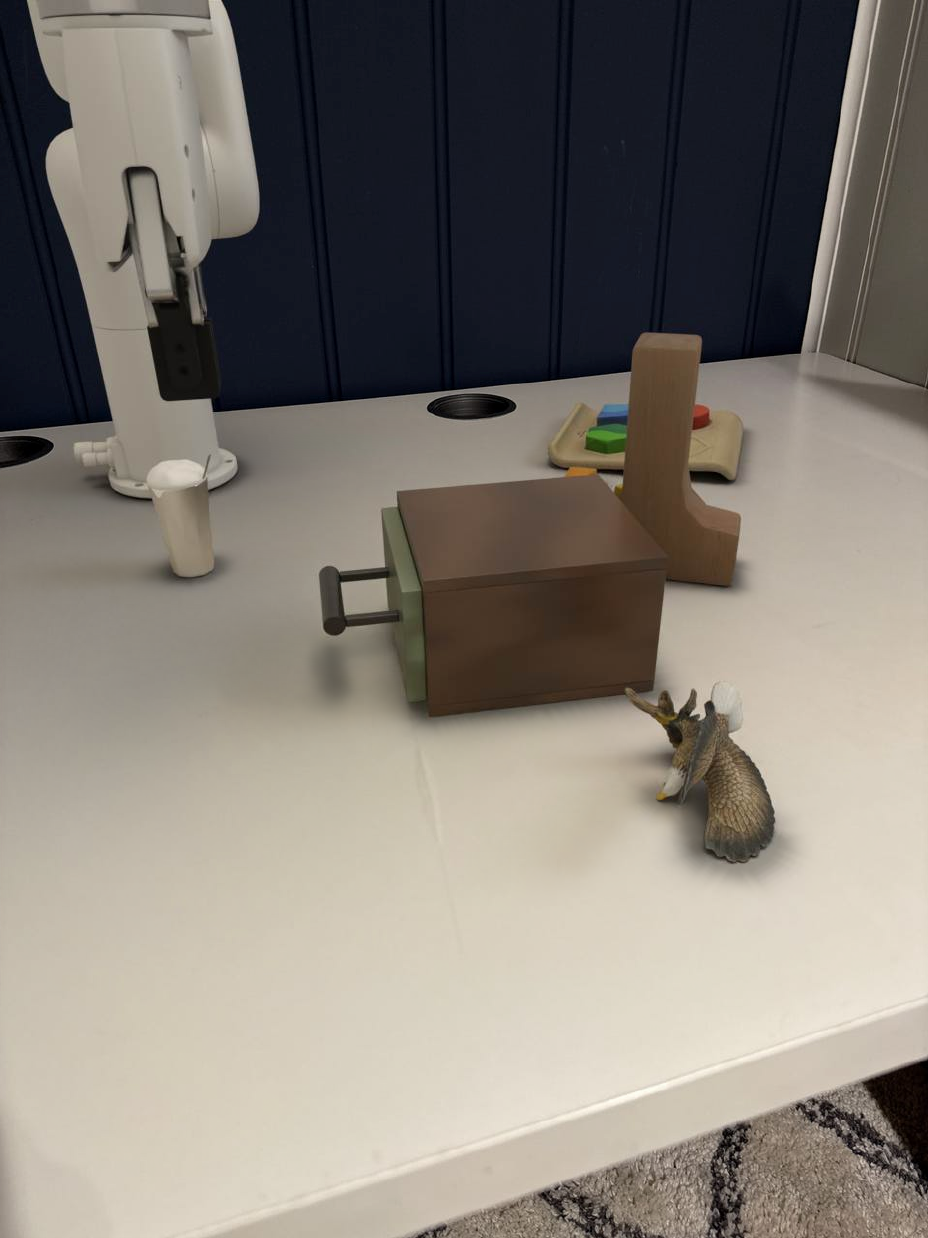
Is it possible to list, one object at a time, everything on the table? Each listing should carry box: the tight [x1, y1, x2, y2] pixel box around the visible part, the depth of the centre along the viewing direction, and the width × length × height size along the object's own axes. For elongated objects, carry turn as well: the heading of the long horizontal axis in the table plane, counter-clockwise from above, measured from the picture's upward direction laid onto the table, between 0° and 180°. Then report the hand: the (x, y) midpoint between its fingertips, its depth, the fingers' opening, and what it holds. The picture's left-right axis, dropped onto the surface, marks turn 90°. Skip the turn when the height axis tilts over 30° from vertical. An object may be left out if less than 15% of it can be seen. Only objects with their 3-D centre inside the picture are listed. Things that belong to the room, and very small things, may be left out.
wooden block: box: [621, 332, 742, 587], centre depth 68 cm, size 9×4×18 cm, turn 73°
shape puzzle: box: [547, 401, 744, 500], centre depth 93 cm, size 25×19×3 cm
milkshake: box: [147, 454, 215, 579], centre depth 71 cm, size 4×5×10 cm
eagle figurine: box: [624, 681, 776, 863], centre depth 47 cm, size 8×7×9 cm
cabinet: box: [396, 473, 668, 718], centre depth 60 cm, size 15×14×10 cm
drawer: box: [318, 506, 427, 703], centre depth 59 cm, size 18×12×8 cm
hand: (192, 394), depth 50 cm, fingers closed
